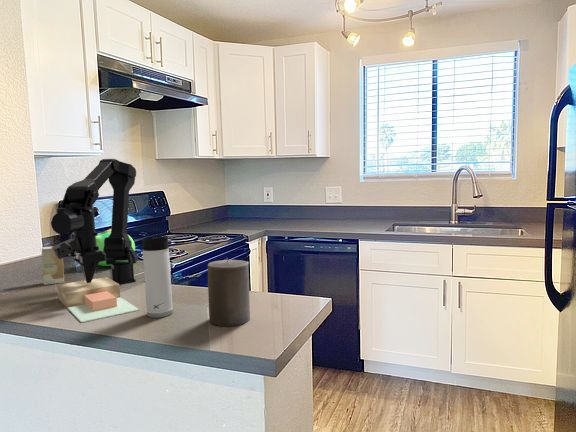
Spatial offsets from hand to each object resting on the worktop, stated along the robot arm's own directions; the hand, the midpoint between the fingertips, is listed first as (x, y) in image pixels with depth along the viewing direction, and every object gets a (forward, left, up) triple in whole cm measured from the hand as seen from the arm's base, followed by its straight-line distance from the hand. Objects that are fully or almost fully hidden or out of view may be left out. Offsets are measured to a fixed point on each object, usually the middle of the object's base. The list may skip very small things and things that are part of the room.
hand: (88, 282), depth 128 cm
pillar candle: (-21, +45, -5) cm, 50 cm away
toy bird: (-19, -45, -5) cm, 49 cm away
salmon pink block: (0, +11, -3) cm, 11 cm away
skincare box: (+4, -30, -5) cm, 31 cm away
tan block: (0, -1, -5) cm, 5 cm away
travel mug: (-10, +29, -5) cm, 31 cm away
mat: (0, +14, -5) cm, 15 cm away
